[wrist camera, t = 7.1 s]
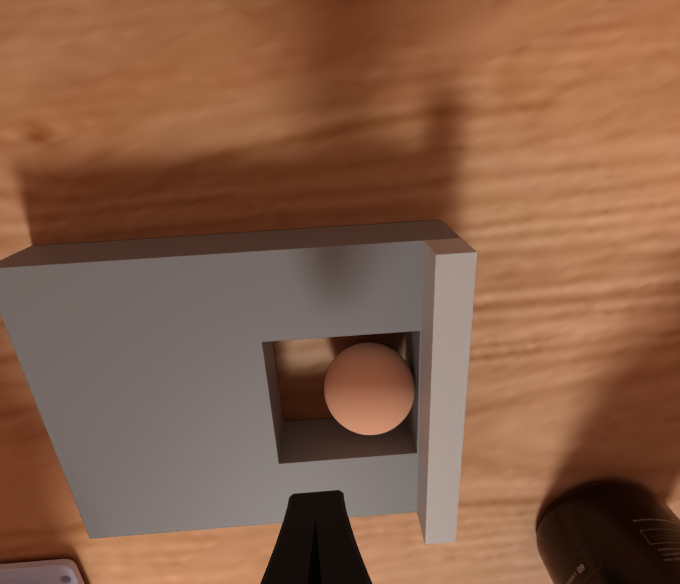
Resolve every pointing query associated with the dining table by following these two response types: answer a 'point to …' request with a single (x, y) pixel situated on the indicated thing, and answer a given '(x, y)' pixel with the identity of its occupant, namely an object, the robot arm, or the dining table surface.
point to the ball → (369, 388)
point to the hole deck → (240, 371)
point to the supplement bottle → (610, 536)
